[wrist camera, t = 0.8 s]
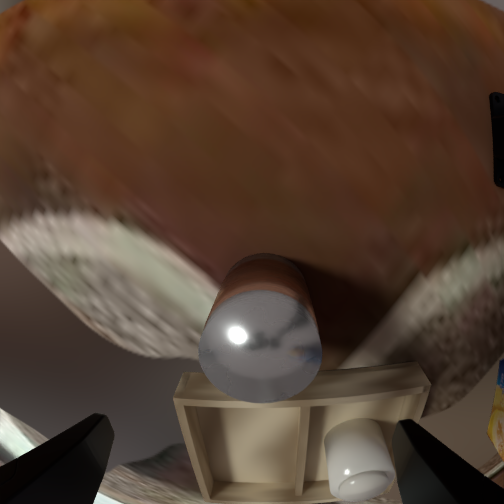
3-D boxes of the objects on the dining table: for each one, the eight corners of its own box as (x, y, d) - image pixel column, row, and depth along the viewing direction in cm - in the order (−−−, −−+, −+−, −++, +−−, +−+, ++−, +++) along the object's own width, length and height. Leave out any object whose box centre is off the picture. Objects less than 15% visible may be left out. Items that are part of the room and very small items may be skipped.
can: (307, 250, 19) (326, 298, 12) (307, 330, 20) (319, 402, 13) (218, 254, 19) (189, 302, 12) (225, 332, 21) (205, 403, 14)
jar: (385, 414, 21) (404, 466, 16) (375, 450, 22) (388, 499, 17) (326, 421, 22) (335, 477, 16) (321, 457, 23) (327, 508, 17)
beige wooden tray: (416, 360, 20) (431, 384, 18) (382, 470, 24) (388, 493, 21) (183, 371, 22) (173, 397, 19) (209, 478, 25) (204, 501, 22)
